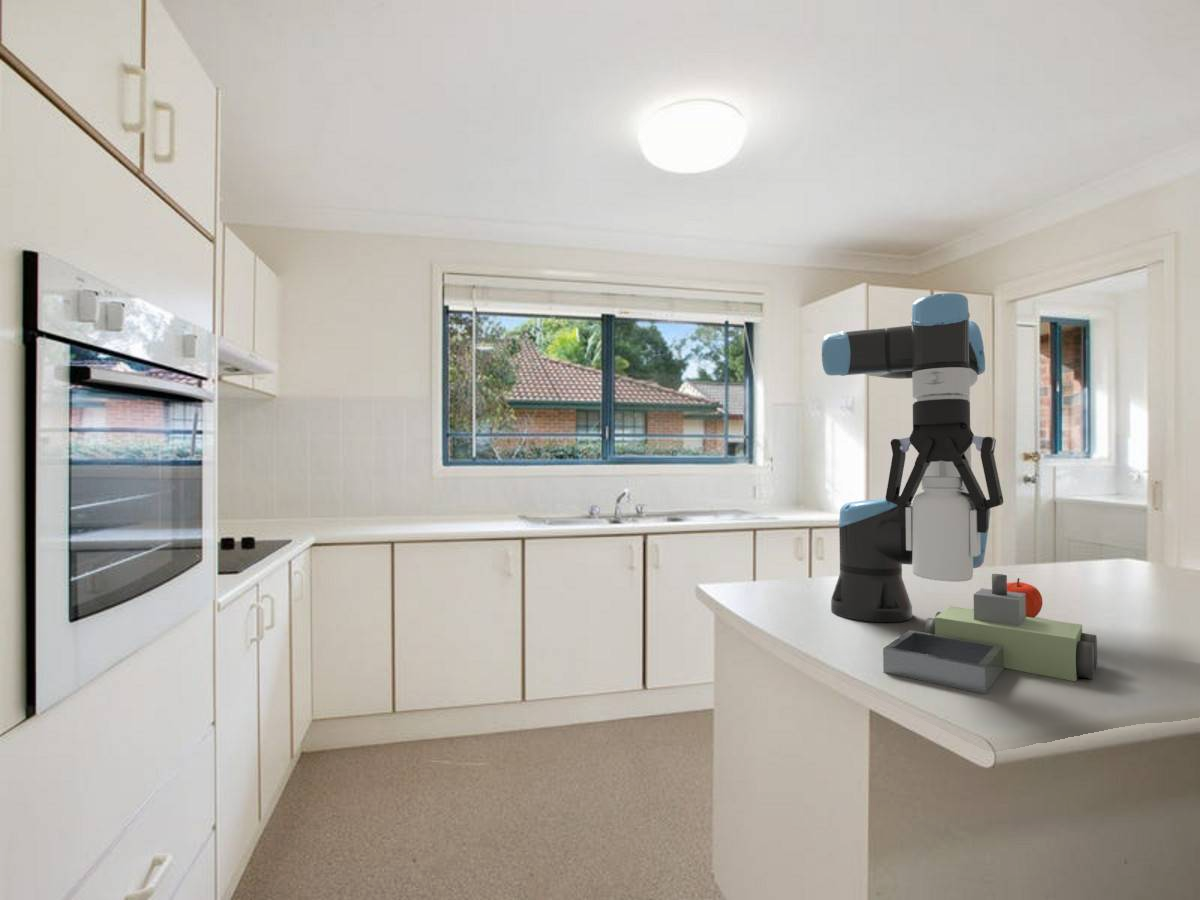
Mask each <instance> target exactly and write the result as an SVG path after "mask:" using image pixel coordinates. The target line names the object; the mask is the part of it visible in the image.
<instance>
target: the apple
mask: <svg viewBox="0 0 1200 900" xmlns="http://www.w3.org/2000/svg"><path fill="white" fill-rule="evenodd" d="M1020 581H1021V579H1020V577H1018V578H1017V581H1013V582H1007V591H1008V592H1017V593H1025V606H1026V617H1031V618H1037V616H1038V615H1039V614H1040V612H1041V610H1042V608H1043V602H1044V601H1043V596H1042V594H1041V592H1040V590H1039V589H1038V588H1037V587H1035V586H1034V585H1032V584H1028V583H1026V582H1022V581H1021V582H1020Z"/></svg>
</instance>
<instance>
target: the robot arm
mask: <svg viewBox="0 0 1200 900" xmlns="http://www.w3.org/2000/svg"><path fill="white" fill-rule="evenodd" d="M970 315H971V314H970V311H969V300H968V297H967V296H966V295H964V294H961V293H957V292H946V293H936V294H930V295H925V296H923V297H920V298H918V299H917V300H915V301H914V302H913V304H912V307H911V319H910V324H911V325H902V326H892V327H891V326H890V327H886V328H885V327H884V328H872V329H860V330H852V331H850V330H849V331H846V330H844V331H843V330H842V331H839V332H834V333H828V334H826V335H825V336H824V337H823V339H822V342H821V343H822V344H821V363H822V367H823V368H822V369H823V371H824V373H825V375H827V376H841V377H843V376H844V377H845V376H852V375H867V376H870V377H876V378H877V377H878V378H879V377H880V378H884V379H885V378H886V379H898V380H899V379H900V380H901V379H912V383H911V384H912V398H914V400H916V401H915V402H914V403H913V404H912V431H911V433H910V435H909V437H903V438H893V439H891V441H890V447H891V451H892V452H891V453H892V458H891V463H890V468H889V475H888V482H887V487H886V493H885V498H875V499H866V500H865V499H864V500H858V501H851V502H847V503H845V504H843V505H842V506H841V508H840V510H839V521H838V522H839V523H838V527H837V528H839V531H838V532H839V576H838V578H837V582H836V583H835V584H836V585H835V587H834V591H833V593H832V596H831V600H830V611H831V612H832V613H834V614H836V615H838V616H841V617H843V618H847V619H851V620H858V621H862V622H863V621H865V622H872V623H873V622H875V623H899V622H906V621H909V620H911V619H912V618H913V605H912V602H911V599H910V597H909V594H908V591H907V587H906V586H905V583H904V579H903V568H902V567H903V565H910V566H911V565H912V506H913V500H914V498H915V497H916V496H918V495H920V494H923V493H924V490H923V489H922V490H921V491H919V492H917V490H918V488H919V486H920V485H921V483H922V477H924V476H953V477H961V478H962V487H961V489H963V491H960V492H961V495H964V496H966V497H968V498H969V499H970V500H971V501H972V504H973V510H970V556H973V569H977V568H980V567H981V566H982V565H983V564H984V562H985V557H986V550H987V541H988V533H989V530H990V529H989V525H990V517H991V509H992V508H996V507H999V506H1002V505H1003V504H1004V496H1003V492H1002V487H1001V483H1000V478H999V473H998V469H997V464H996V459H995V448H996V440H997V439H996V438H995V437H992V436H977V435H975V434H974V433H973V431H972V429H971V402H970V400H971V399H970V395H971V387H973V386H974V385H975V384H976V382H977V381H978V376H980V375H982V374H984V373H985V371H986V355H985V351H984V350H985V349H984V341H983V337H982V332H981V329H980V325H978V324H977V323H976V322H975V321H972V320H970V317H971V316H970ZM972 444H974V445H975V448H976V450H977V451H978V452H980V459H981V465H982V469H983V473H984V478H985V483H986V489H987V493H988V498H989V499H987V498H986V496H985V494H984V492H983V490H982V488H981V486H980V484H979V482H978V480H977V478H976V476H975V474H974V472H973V470H972ZM911 445H912V446H913V448H914V449H915V450H916V451H917V453H918V454H917V456H916V459H915V460H914V461H915V462H914V465H913V468H912V469H911V472H910V474H909V476H908V479H907V481H906V483H905V485H904V488H903V490H902V492H901V494H900V491H901V485H902V479H903V473H904V470H905V468H904V467H905V463H906V462H905V461H906V453H907V452H908V451H909V449H910V446H911ZM922 488H924V486H922ZM916 493H917V494H916Z"/></svg>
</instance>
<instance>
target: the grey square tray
mask: <svg viewBox="0 0 1200 900" xmlns="http://www.w3.org/2000/svg"><path fill="white" fill-rule="evenodd" d="M882 654H883V655H882V657H883V658H882V662H883V664H882V665H883V667H882V669H883V671H882V672H883V673H887V674H891V675H895V676H899V677H905V678H910V679H914V680H918V681H923V682H927V683H931V684H935V685H941V686H946V687H950V688H955V689H960V690H965V691H969V692H973V693H978V694H982V695H986V694H987V692H988V691H989V690H990V689H991V687H992V685H994V683H995V682H996V680H997V679H998V678H999V676H1000V675H1001V674H1002V672H1003V671H1004V670H1005V669H1004V656H1003V646H1000V645H994V644H988V643H982V642H976V641H971V640H965V639H959V638H953V637H947V636H941V635H935V634H929V633H925V631H924V632H923V631H918V630H917V631H916V630H912V629H909V630H908V631H907V632H905V633H903V634H901V636H899V637H898V638H896V639H895V640H893V641H892V642H890V643H888V644H887V645H885V646H884V647H883V649H882Z"/></svg>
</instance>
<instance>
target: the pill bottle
mask: <svg viewBox="0 0 1200 900" xmlns="http://www.w3.org/2000/svg"><path fill="white" fill-rule="evenodd" d="M921 486H922V490H924V493H923V494H920V495H918V496H916V495H915V496H916V497H915V496H914V497H915V498H914V497H913V500H912V505H911V506H912V574H913V575H914V576H916V577H919V578H922V579H927V580H933V581H941V582H954V583H955V582H956V583H957V582H968V581H971V580H972V579H973V577H974V576H973V575H974V568H973V556H970V510H973V504H972V501H971V500H970V499H969V498H968V497H966V496H964V495H961V492H960V491H963V489H961V487H962V478H961V477H953V476H924V477H922V480H921ZM923 486H924V488H923Z"/></svg>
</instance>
